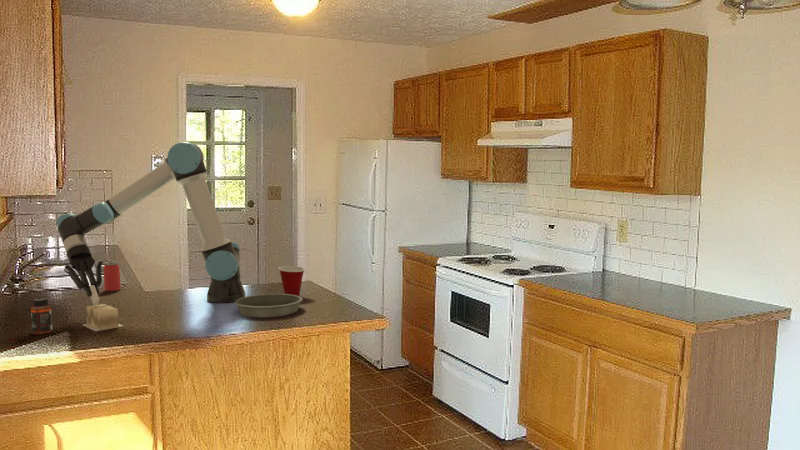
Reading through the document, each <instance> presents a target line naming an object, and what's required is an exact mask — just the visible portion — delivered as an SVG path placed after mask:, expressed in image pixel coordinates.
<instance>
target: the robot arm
mask: <svg viewBox="0 0 800 450" xmlns="http://www.w3.org/2000/svg"><path fill="white" fill-rule="evenodd" d="M204 158H205V157H204V153H203V151H202V148H201V147H200V146H198V145H197V144H195V143H192V142H189V141H179V142H176V143H175V144H173V145H172V146H171V147H170V148H169V150H168V151H167V157H166V158H165V159H164V161H163V163H162V164H160V165H158V166H157V167H155V168H154V169H153V170H151V171H149V172H148V173H146V174H144V175H143V176H142V177H139V179H137V180H136V181H134V182H132V183H131V184H130V185H128V186H126V187H125V188H123V189H122V190H121V191H119V192H118V193H116V194H115V195H113V196H112V197H110V198H108V199H107V200H105V201H101V202H99V203H96V204H94V205H93V206H91V207H89V208H87V209H85V210H84V211H82V212H80V213H78V214H75V213H72V212H67V213H64V214H61V215H60V216H58V218H57V219H56V227H57V232H58V233H59V235H60V239H61V240H62V244H63V247H64V250H65V254H66V256H67V258H68V262H69V264H64V265H65V266H64V268H63V271H64V273H66V274H68V275H69V277H70V278H71V280H72V282H73V283H74V284H75V286H76V287H77V289H79V290H83V291H84V292H85V293H86V296H87V297H90V299H91V302H92V305H98V304H99V302H100V297H99V294H100V290H99V287H101V285H102V281H103V280H102V279H103V278H102V266H103V261H96V260H95V259H94V258H93V256H92V253H91V250H90V248H89V245H88V241H87V239H86V237H85V235H86V234H88V233H89V232H91V231H94V230H95V229H97V228H99V227H102V226H103V225H104V226H105V225H109V224H110V223H112V222H114V220H115V219H118V218H120V216H121V215H123V214H124V213H126V212H128V210H130V209H132V208H134V207H135V206H137V205H138V204H139V203H141V202H143V201H144V200H145V199H147V198H149V197H150V196H152V195H153V194H155V193H156V192H158V191H159V190H162V188H164V187H165V186H167V185H168V184H171V183H172V182H173V181H175V182H177V183H179V184H181V185H182V189H183V191H184V193H185V194H184V195H185V196H186V200H187V202H188V204H189V207H190V210H191V213H192V217H193V220H194V222H195V225H196V228H197V230H198V233H199V237H200V239H201V242H202V247H201V254H202V257H203V261H204V262H205V264H204V267H205V271H206V272H207V274H208V276H209V277H210V282H209V283H210V284H209V287H208V291H207V293H206V300H207V302H210V303H215V304H216V303H220V304H221V303H233V302H234V303H235V301H236V300H238V299H240V298H243V297H247V296H246V291H245V288H244V285H243V283H242V279H241V264H240V263H241V258H240V255H241V254H240V251H241V250H240V244H239V243H238V242H232V240H231V239H229V238H227V237H226V235H225V232H224V230H223V227H222V224H221V221H220V218H219V215H218V212H217V209H216V206H215V204H214V201H213V197H212V195H211V192H210V188H209V186H208V184H207V181H206V176H207V174H208V171H207V169H206V165H205V162H204ZM93 267H94V268H95V274H94V272H93Z"/></svg>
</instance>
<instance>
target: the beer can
mask: <svg viewBox="0 0 800 450" xmlns="http://www.w3.org/2000/svg"><path fill="white" fill-rule="evenodd" d="M120 269H121V267H120V265H119V263H118V262H106V263H104V266H103V282H104V283H103V284H104V285H103V286H104V291H105V292H109V293H110V292H119V291H120V290H121V289H122V287H121V270H120Z"/></svg>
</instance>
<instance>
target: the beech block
mask: <svg viewBox="0 0 800 450" xmlns="http://www.w3.org/2000/svg"><path fill="white" fill-rule="evenodd" d="M85 317H86V321H85V322H86V324H89V325H91V326H93V327H95V328H98V329H100V330H101V331H103V330H102V329H107V330H109V329H108V328H112V329H115V328H114V327H118V328H120V327H119V324H120V323H119V310H118V308H116V307H113V306H111V305H108V304H105V303H100V304H99V303H98V305H93V304H92V305H87V306H85Z"/></svg>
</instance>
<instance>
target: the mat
mask: <svg viewBox="0 0 800 450" xmlns="http://www.w3.org/2000/svg"><path fill="white" fill-rule="evenodd" d="M82 326H83V327H85V328H87V329H90V330H92V331H94V332H100V331H107V330H111V329H117V328H118V329H119V328H123V327H124V325H122V324H120V323H119V327H114V328H108V329H102V330H100V329H98V328H95V327H93V326H91V325H89V324H87V323H84V324H82Z"/></svg>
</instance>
